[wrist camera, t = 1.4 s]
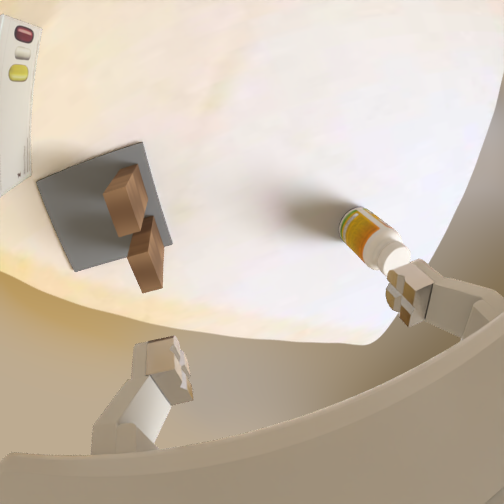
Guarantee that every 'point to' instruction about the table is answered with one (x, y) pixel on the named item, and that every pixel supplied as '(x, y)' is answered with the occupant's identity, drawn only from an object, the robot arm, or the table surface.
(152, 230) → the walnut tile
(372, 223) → the supplement bottle
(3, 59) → the supplement box
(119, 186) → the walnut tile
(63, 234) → the slate rubber mat
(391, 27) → the table surface
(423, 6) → the table surface
